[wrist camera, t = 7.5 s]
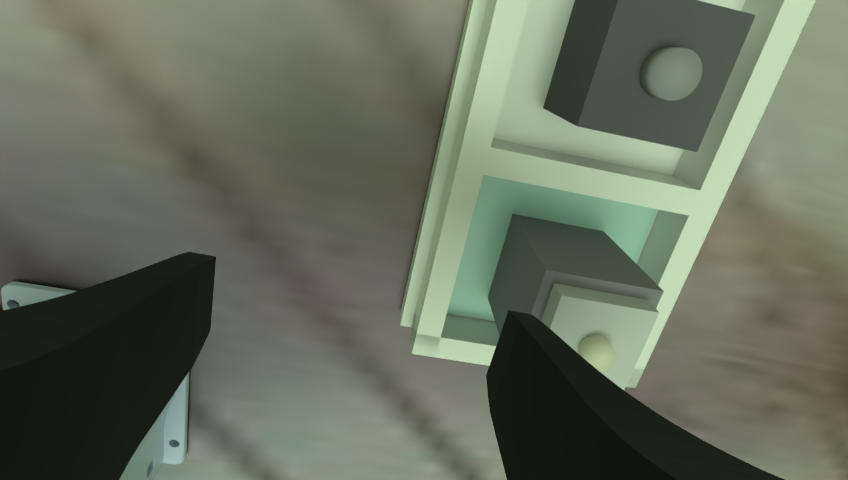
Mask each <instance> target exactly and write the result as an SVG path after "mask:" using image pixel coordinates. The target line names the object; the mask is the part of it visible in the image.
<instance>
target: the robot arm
mask: <svg viewBox="0 0 848 480" xmlns="http://www.w3.org/2000/svg"><path fill="white" fill-rule="evenodd" d="M215 262H216V257H214V256H209V255H203V254H198V253H192V252H187V253H183V254H180V255H177V256H174V257H171V258H169V259H166V260H163V261H161V262H158V263H155V264H153V265H150V266H148V267H145V268H142V269H140V270H137V271H134V272H132V273H129V274H126V275H124V276H121V277H118V278H115V279H112V280H109V281H106V282H103V283H100V284H97V285H94V286H91V287H88V288H85V289H82V290H79V291H74V290H68V289H61V288H55V287H48V286H42V285H36V284H29V283H23V282H10V283H8V284H6V285H5V286H3V287H2V289H1V299H2V306H3V311H0V480H153V478H154V476H155V475H156V473H157V471H158V469H159V467H160V466H161V464H162V463H167V464H180V463H182V462H183V461H184V459H185V457H186V453H187V423H188V393H189V371H190V369H191V368H192V366H193V365H194V363H195V361H196V359H197V357H198V355H199V353H200V351H201V349H202V347H203V345H204V342H205V340H206V338H207V336H208V334H209V332H210V327H211V314H212V301H213V288H214V275H215ZM14 300H15V301H17V302H18V303H19V305H18V304H16V303H15V302H14ZM486 376H487V388H488V398H489V407H490V413H491V417H492V421H493V426H494V430H495V434H496V438H497V442H498V446H499V450H500V453H501V457H502V461H503V465H504V469H505V473H506V477H507V480H784V479H782V478H779V477H777V476H775V475H772V474H770V473H767V472H765V471H763V470H761V469H759V468H756V467H754V466H752V465H750V464H748V463H746V462H744V461H742V460H740V459H738V458H736V457H734V456H732V455H730V454H728V453H726V452H724V451H722V450H720V449H718V448H716V447H714V446H712V445H710V444H709V443H707V442H705V441H703V440H701V439H699V438H698V437H696V436H694V435H692V434H691V433H689V432H687V431H686V430H684V429H682V428H680V427H679V426H677V425H675V424H673V423H672V422H670V421H669V420H667V419H665V418H664V417H662V416H660V415H659V414H657V413H656V412H654V411H653V410H651V409H650V408H648V407H647V406H645V405H644V404H643V403H641V402H640V401H638V400H637V399H635V398H634V397H632V396H631V395H629V394H628V393H627V392H625V391H624V390H623V389H621V388H620V387H619V386H617V385H616V384H615V383H613V382H612V381H611V380H610V379H608V378H607V377H606V376H605V375H603V374H602V373H601V372H599V371H598V370H597V369H596V368H595V367H593V366H592V365H591V364H590V363H589V362H587V361H586V360H585V359H584V358H583V357H582V356H580V355H579V354H578V353H577V352H576V351H575V350H574V349H572V348H571V347H570V346H569V345H568V344H567V343H566V342H564V341H563V340H562V339H561V338H560V337H559V336H558V335H557V334H555V333H554V332H553V331H552V330H551V329H550V328H549V327H547V326H546V325H545V324H544V323H543V322H541V321H540V320H539V319H538V318H536V317H535V316H533V315H532V314H527V313H522V312H516V311H511V310H508V313H507V316H506V319H505V322H504V325H503V328H502V331H501V334H500V337H499V340H498V343H497V346H496V348H495V351H494V354H493V357H492V360H491V363H490V366H489V369H488V372H487V375H486ZM174 440H177V441H178V442H177V441H174Z"/></svg>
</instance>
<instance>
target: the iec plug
mask: <svg viewBox="0 0 848 480" xmlns="http://www.w3.org/2000/svg"><path fill="white" fill-rule="evenodd" d="M663 292H664V291H663V290H662V289H661V288H660V287H659V286H658V285H657V284H656V283H655V282H654V281H653V280H652V279H651V278H650V277H649V276H648V275H647V274H646V273H645V272H644V271H643V270H642V269H641V268H640V267H639V266H638V265H637V264H636V263H635V262H634V261H633V260H632V259H631V258H630V257H629V256H628V255H627V254H626V253H625V252H624V251H623V250H622V249H621V248H620V247H619V246H618V245H617V244H616V243H615V242H614V241H613V240H612V239H611V238H610V237H609V236H608V235H607V234H606V233H605V232H604V231H600V230H595V229H589V228H584V227H579V226H574V225H569V224H564V223H558V222H553V221H548V220H543V219H538V218H532V217H527V216H522V215H517V214H512V217H511V221H510V224H509V227H508V231H507V234H506V237H505V241H504V244H503V247H502V251H501V254H500V257H499V261H498V264H497V268H496V271H495V274H494V278H493V281H492V284H491V288H490V291H489V294H488V300H489V304H490V307H491V310H492V313H493V316H494V320H495V323H496V326H497V329H498V332H499V336H500V334H501V331H502V328H503V325H504V322H505V319H506V316H507V313H508V310H511V311H516V312H522V313H527V314H532V315H533V316H535V317H536V318H538V319H539V320H540V321H541V322H543V323H544V324H545V325H546V326H547V327H549V328H550V329H551V330H552V331H553V332H554V333H555V334H557V335H558V336H559V337H560V338H561V339H562V340H563V341H564V342H566V343H567V344H568V345H569V346H570V347H571V348H572V349H574V350H575V351H576V352H577V353H578V354H579V355H580V356H582V357H583V358H584V359H585V360H586V361H587V362H589V363H590V364H591V365H592V366H593V367H595V368H596V369H597V370H598V371H599V372H601V373H602V374H603V375H605V376H606V377H607V378H608V379H610V380H611V381H612V382H613V383H615V384H616V385H617V386H619V387H620V388H621V389H623V390H624V389H625V387H626V385H627V383H628V381H629V379H630V376H631V374H632V372H633V370H634V368H635V365H636V363H637V361H638V359H639V357H640V354H641V352H642V350H643V348H644V346H645V344H646V341H647V339H648V337H649V335H650V333H651V330H652V328H653V326H654V324H655V322H656V319H657V317H658V315H659V312H658V311H657V309H656V308H657V305H658V303H659V301H660V299H661V297H662V294H663Z"/></svg>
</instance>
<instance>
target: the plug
mask: <svg viewBox="0 0 848 480" xmlns="http://www.w3.org/2000/svg"><path fill="white" fill-rule="evenodd" d="M755 16H756V15H754V14H750V13H746V12H742V11H738V10H734V9H730V8H726V7H722V6H718V5H714V4H710V3H706V2H703V1H699V0H575V2H574V5H573V8H572V12H571V15H570V18H569V22H568V25H567V29H566V32H565V35H564V39H563V42H562V46H561V49H560V52H559V56H558V59H557V62H556V66H555V69H554V73H553V76H552V79H551V83H550V86H549V89H548V93H547V96H546V100H545V103H544V106H543V108H544V109H546V110H548V111H549V112H551V113H553V114H555V115H557V116H559V117H561V118H562V119H564V120H566V121H568V122H570V123H572V124H574V125H575V126H578V127H582V128H587V129H592V130H596V131H601V132H606V133H610V134H615V135H620V136H624V137H629V138H633V139H638V140H643V141H647V142H652V143H657V144H661V145H666V146H671V147H675V148H680V149H685V150H689V151H694V152H698V149H699V147H700V145H701V142H702V140H703V138H704V135H705V133H706V131H707V128H708V126H709V124H710V121H711V119H712V117H713V114H714V112H715V110H716V107H717V105H718V102H719V100H720V98H721V95H722V93H723V91H724V88H725V86H726V84H727V81H728V79H729V77H730V74H731V72H732V70H733V67H734V65H735V63H736V60H737V58H738V56H739V53H740V51H741V49H742V46H743V44H744V42H745V39H746V37H747V35H748V32H749V30H750V28H751V25H752V23H753V21H754V18H755Z"/></svg>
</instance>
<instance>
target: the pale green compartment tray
mask: <svg viewBox="0 0 848 480" xmlns="http://www.w3.org/2000/svg"><path fill="white" fill-rule="evenodd" d="M699 1H703V2H706V3H710V4H714V5H718V6H722V7H726V8H730V9H734V10H738V11H742V12H746V13H750V14H754V15H756V16H755V18H754V21H753V23H752V25H751V28H750V30H749V32H748V35H747V37H746V39H745V42H744V44H743V46H742V49H741V51H740V53H739V56H738V58H737V60H736V63H735V65H734V67H733V70H732V72H731V74H730V77H729V79H728V81H727V84H726V86H725V88H724V91H723V93H722V95H721V98H720V100H719V102H718V105H717V107H716V110H715V112H714V114H713V117H712V119H711V121H710V124H709V126H708V128H707V131H706V133H705V135H704V138H703V140H702V142H701V145H700V147H699V149H698V152H694V151H689V150H685V149H680V148H675V147H671V146H666V145H661V144H657V143H652V142H647V141H643V140H638V139H633V138H629V137H624V136H620V135H615V134H610V133H606V132H601V131H596V130H592V129H587V128H582V127H578V126H575V125H574V124H572V123H570V122H568V121H566V120H564V119H562V118H561V117H559V116H557V115H555V114H553V113H551V112H549V111H548V110H546V109H544V108H543V106H544V103H545V100H546V96H547V93H548V89H549V86H550V83H551V79H552V76H553V73H554V69H555V66H556V62H557V59H558V56H559V52H560V49H561V46H562V42H563V39H564V35H565V32H566V29H567V25H568V22H569V18H570V15H571V12H572V8H573V5H574V2H575V0H470V1H469V6H468V10H467V15H466V19H465V24H464V28H463V33H462V37H461V42H460V46H459V51H458V55H457V60H456V64H455V69H454V73H453V78H452V82H451V87H450V91H449V96H448V100H447V105H446V109H445V114H444V118H443V123H442V127H441V132H440V136H439V141H438V145H437V150H436V154H435V159H434V163H433V168H432V172H431V177H430V181H429V186H428V190H427V195H426V199H425V204H424V208H423V213H422V217H421V222H420V226H419V231H418V235H417V240H416V245H415V249H414V254H413V258H412V263H411V267H410V272H409V276H408V281H407V285H406V290H405V294H404V299H403V303H402V308H401V319H400V325H401V326H407V327H411V341H412V354H417V355H423V356H430V357H436V358H443V359H449V360H456V361H462V362H469V363H475V364H482V365H488V366H490V363H491V360H492V357H493V354H494V351H495V348H496V346H497V343H498V340H499V337H500V336H499V332H498V329H497V326H496V323H495V320H494V316H493V313H492V310H491V307H490V304H489V300H488V294H489V291H490V288H491V284H492V281H493V278H494V274H495V271H496V268H497V264H498V261H499V257H500V254H501V251H502V247H503V244H504V241H505V237H506V234H507V231H508V227H509V224H510V221H511V217H512V214H517V215H522V216H527V217H532V218H538V219H543V220H548V221H553V222H558V223H564V224H569V225H574V226H579V227H584V228H589V229H595V230H600V231H604V232H605V233H606V234H607V235H608V236H609V237H610V238H611V239H612V240H613V241H614V242H615V243H616V244H617V245H618V246H619V247H620V248H621V249H622V250H623V251H624V252H625V253H626V254H627V255H628V256H629V257H630V258H631V259H632V260H633V261H634V262H635V263H636V264H637V265H638V266H639V267H640V268H641V269H642V270H643V271H644V272H645V273H646V274H647V275H648V276H649V277H650V278H651V279H652V280H653V281H654V282H655V283H656V284H657V285H658V286H659V287H660V288H661V289H662V290H663V291H664V292H663V294H662V297H661V299H660V301H659V303H658V305H657V308H656V309H657V311H658V312H659V315H658V317H657V319H656V322H655V324H654V326H653V328H652V330H651V333H650V335H649V337H648V339H647V341H646V344H645V346H644V348H643V350H642V352H641V354H640V357H639V359H638V361H637V363H636V365H635V368H634V370H633V372H632V374H631V376H630V379H629V381H628V383H627V385H626V387H631V388H636V386H637V384H638V381H639V379H640V377H641V375H642V373H643V371H644V368H645V366H646V364H647V362H648V360H649V358H650V356H651V353H652V351H653V349H654V347H655V345H656V343H657V341H658V338H659V336H660V334H661V332H662V330H663V328H664V325H665V323H666V321H667V319H668V317H669V315H670V313H671V310H672V308H673V306H674V304H675V302H676V300H677V298H678V295H679V293H680V291H681V289H682V287H683V285H684V282H685V280H686V278H687V276H688V274H689V272H690V270H691V267H692V265H693V263H694V261H695V259H696V257H697V255H698V252H699V250H700V248H701V246H702V244H703V242H704V239H705V237H706V235H707V233H708V231H709V229H710V227H711V224H712V222H713V220H714V218H715V216H716V214H717V212H718V209H719V207H720V205H721V203H722V201H723V199H724V196H725V194H726V192H727V190H728V188H729V186H730V184H731V181H732V179H733V177H734V175H735V173H736V171H737V168H738V166H739V164H740V162H741V160H742V158H743V156H744V153H745V151H746V149H747V147H748V145H749V143H750V141H751V138H752V136H753V134H754V132H755V130H756V128H757V125H758V123H759V121H760V119H761V117H762V115H763V113H764V110H765V108H766V106H767V104H768V102H769V100H770V98H771V95H772V93H773V91H774V89H775V87H776V85H777V82H778V80H779V78H780V76H781V74H782V72H783V70H784V67H785V65H786V63H787V61H788V59H789V57H790V55H791V52H792V50H793V48H794V46H795V44H796V42H797V39H798V37H799V35H800V33H801V31H802V29H803V27H804V24H805V22H806V20H807V18H808V16H809V14H810V12H811V9H812V7H813V5H814V3H815V1H816V0H699Z"/></svg>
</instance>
